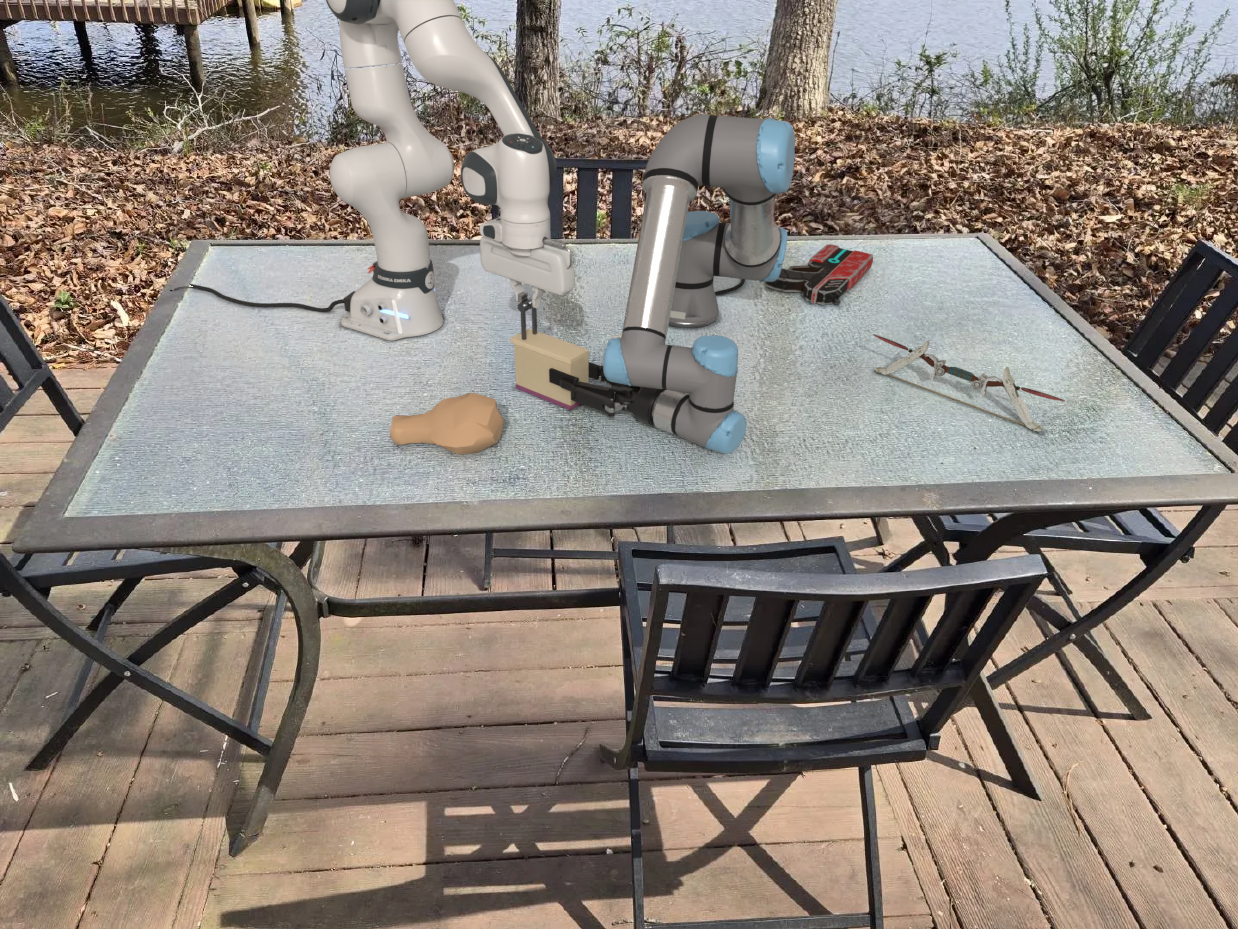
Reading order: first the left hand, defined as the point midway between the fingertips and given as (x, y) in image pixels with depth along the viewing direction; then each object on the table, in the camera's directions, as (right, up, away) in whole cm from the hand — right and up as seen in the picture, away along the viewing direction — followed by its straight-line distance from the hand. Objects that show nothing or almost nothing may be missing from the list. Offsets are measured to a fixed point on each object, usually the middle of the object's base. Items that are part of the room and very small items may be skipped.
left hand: (528, 304), depth 164 cm
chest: (+4, -16, +7) cm, 18 cm away
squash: (-13, -26, -9) cm, 31 cm away
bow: (+83, -17, +9) cm, 85 cm away
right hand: (+6, -12, +2) cm, 14 cm away
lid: (+4, -8, +2) cm, 9 cm away
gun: (+68, +17, +59) cm, 92 cm away
